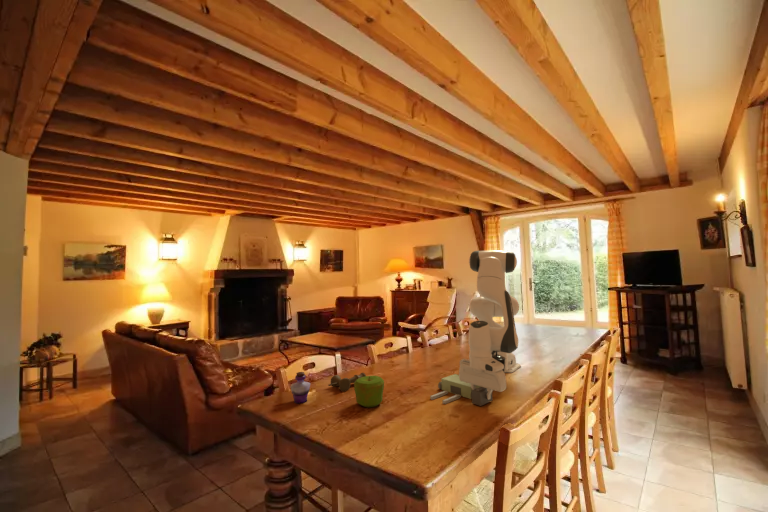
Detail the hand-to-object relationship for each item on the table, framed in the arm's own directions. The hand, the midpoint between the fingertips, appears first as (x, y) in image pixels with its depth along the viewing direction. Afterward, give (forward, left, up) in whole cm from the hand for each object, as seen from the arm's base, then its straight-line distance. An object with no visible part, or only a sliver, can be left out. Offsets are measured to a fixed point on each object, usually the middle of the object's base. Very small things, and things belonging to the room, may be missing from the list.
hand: (482, 397), depth 138 cm
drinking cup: (-21, -6, -3) cm, 22 cm away
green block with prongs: (0, -14, -3) cm, 14 cm away
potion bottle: (+52, -54, -3) cm, 75 cm away
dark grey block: (0, 0, -2) cm, 2 cm away
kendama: (+28, -56, -3) cm, 62 cm away
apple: (+33, -31, -3) cm, 45 cm away
